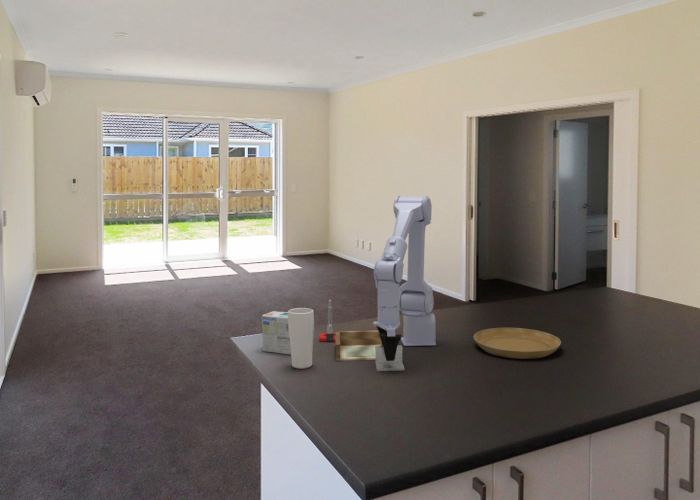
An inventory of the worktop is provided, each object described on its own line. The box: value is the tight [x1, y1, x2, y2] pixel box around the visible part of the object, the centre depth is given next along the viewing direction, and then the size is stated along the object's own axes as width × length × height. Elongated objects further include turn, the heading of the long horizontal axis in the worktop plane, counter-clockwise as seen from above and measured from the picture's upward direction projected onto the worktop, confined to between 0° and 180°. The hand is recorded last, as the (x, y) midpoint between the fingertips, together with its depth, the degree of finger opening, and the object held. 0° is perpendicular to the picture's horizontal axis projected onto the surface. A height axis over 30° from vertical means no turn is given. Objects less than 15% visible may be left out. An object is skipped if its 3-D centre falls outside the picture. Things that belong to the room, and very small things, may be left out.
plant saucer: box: [473, 327, 562, 360], centre depth 165 cm, size 24×24×3 cm
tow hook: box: [318, 299, 336, 343], centre depth 178 cm, size 8×13×9 cm
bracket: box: [374, 344, 405, 372], centre depth 150 cm, size 7×6×5 cm
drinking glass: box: [287, 307, 315, 370], centre depth 151 cm, size 7×7×15 cm
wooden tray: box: [334, 329, 382, 360], centre depth 163 cm, size 16×14×4 cm
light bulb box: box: [261, 310, 291, 355], centre depth 166 cm, size 11×7×11 cm, turn 65°
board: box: [335, 345, 382, 362], centre depth 163 cm, size 16×14×1 cm
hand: (388, 356), depth 152 cm, fingers open, 7 cm apart
